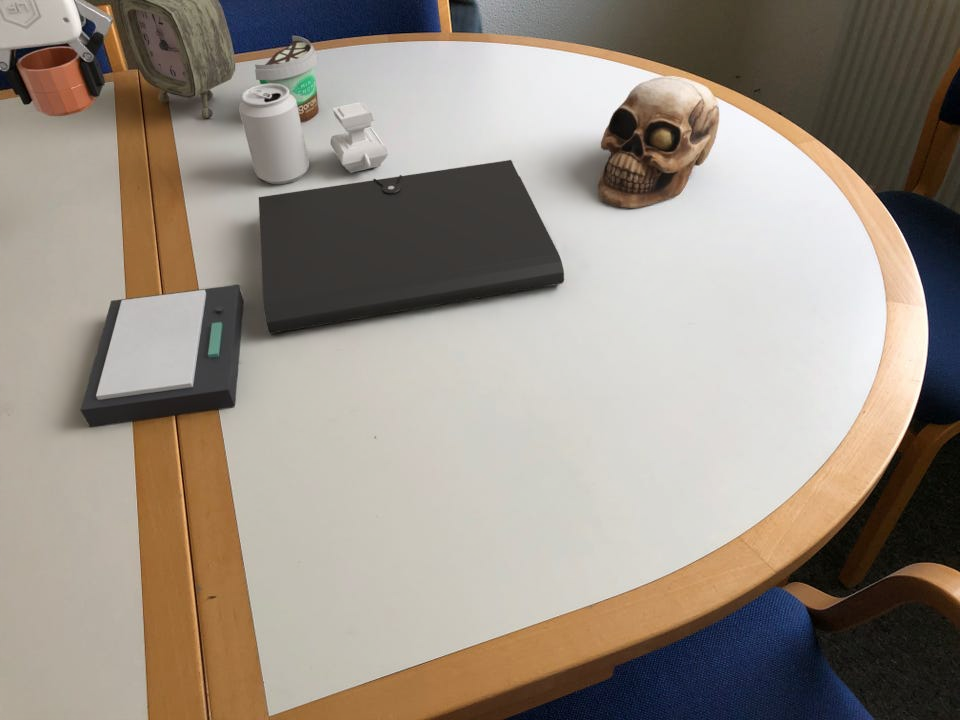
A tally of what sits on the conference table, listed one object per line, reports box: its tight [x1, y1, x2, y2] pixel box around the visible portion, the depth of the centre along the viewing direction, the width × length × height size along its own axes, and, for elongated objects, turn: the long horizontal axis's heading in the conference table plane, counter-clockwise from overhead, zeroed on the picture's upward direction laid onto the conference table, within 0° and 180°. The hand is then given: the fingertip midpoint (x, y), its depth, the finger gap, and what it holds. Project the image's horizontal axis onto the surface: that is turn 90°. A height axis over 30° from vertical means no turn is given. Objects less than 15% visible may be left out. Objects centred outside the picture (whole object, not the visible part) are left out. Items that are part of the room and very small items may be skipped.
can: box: [238, 83, 310, 185], centre depth 108 cm, size 8×8×12 cm
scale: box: [79, 284, 245, 428], centre depth 83 cm, size 14×17×3 cm
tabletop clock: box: [117, 0, 236, 119], centre depth 121 cm, size 14×9×25 cm, turn 55°
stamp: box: [330, 101, 389, 174], centre depth 110 cm, size 9×7×8 cm
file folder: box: [258, 159, 565, 334], centre depth 95 cm, size 33×4×24 cm
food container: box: [254, 35, 320, 124], centre depth 122 cm, size 12×6×10 cm, turn 161°
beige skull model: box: [597, 75, 720, 209], centre depth 105 cm, size 16×17×13 cm
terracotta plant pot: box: [16, 45, 97, 117], centre depth 91 cm, size 7×7×6 cm
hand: (63, 94), depth 92 cm, fingers closed on terracotta plant pot, 6 cm apart
